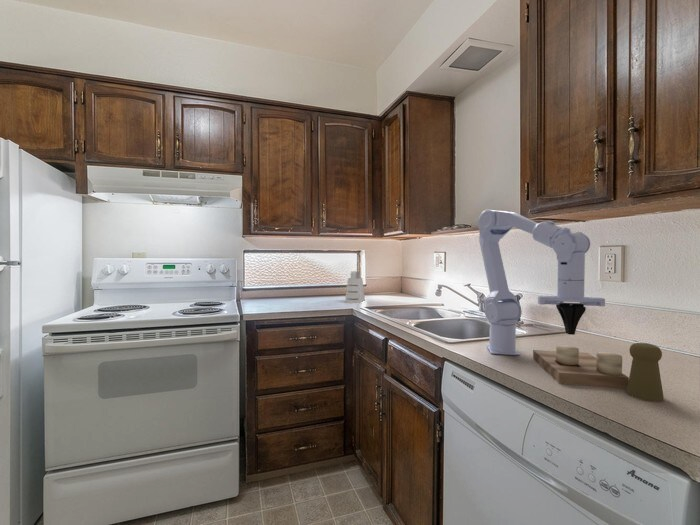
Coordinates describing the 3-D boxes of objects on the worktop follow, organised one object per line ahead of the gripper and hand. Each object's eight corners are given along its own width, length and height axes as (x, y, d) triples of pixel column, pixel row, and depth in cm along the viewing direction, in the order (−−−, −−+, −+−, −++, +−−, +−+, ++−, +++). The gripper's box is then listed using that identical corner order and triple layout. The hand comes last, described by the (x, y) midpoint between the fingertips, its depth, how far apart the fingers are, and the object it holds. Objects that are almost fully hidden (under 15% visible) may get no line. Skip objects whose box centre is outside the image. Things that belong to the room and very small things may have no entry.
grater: (344, 303, 220) (344, 271, 220) (349, 301, 230) (350, 271, 230) (360, 303, 217) (360, 271, 216) (365, 301, 227) (365, 271, 226)
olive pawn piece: (626, 388, 77) (627, 339, 77) (663, 395, 74) (663, 343, 73) (626, 396, 73) (626, 344, 73) (665, 404, 69) (665, 349, 69)
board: (533, 358, 100) (533, 336, 100) (587, 361, 97) (587, 338, 97) (559, 383, 80) (559, 355, 80) (628, 388, 77) (628, 359, 77)
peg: (553, 369, 90) (553, 344, 90) (574, 371, 89) (574, 345, 89) (559, 375, 85) (559, 349, 85) (581, 377, 84) (581, 350, 84)
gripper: (544, 280, 85) (543, 335, 85) (611, 281, 82) (610, 338, 82) (535, 278, 92) (535, 329, 92) (597, 279, 89) (596, 332, 89)
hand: (570, 333), depth 88 cm, fingers closed
